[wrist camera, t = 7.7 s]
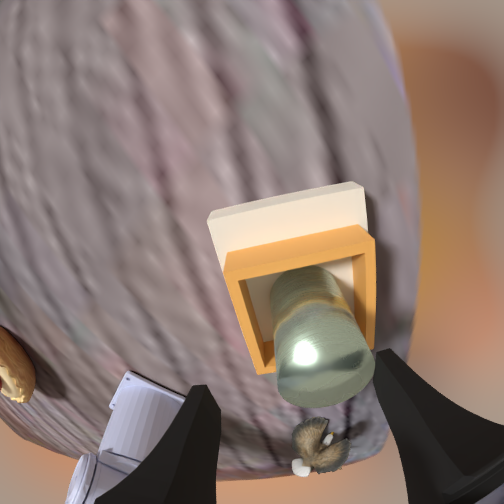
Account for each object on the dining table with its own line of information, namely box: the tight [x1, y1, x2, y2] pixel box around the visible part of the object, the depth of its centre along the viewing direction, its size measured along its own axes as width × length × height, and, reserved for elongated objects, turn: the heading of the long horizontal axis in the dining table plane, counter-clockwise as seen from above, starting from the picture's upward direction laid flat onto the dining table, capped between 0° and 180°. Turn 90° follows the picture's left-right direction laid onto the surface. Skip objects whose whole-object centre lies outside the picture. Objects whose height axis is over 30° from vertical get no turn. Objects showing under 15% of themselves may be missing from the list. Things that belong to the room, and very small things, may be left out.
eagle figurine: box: [292, 417, 351, 477], centre depth 26 cm, size 8×7×9 cm
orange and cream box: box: [207, 181, 376, 375], centre depth 17 cm, size 12×9×4 cm
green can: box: [270, 265, 375, 408], centre depth 14 cm, size 4×4×7 cm
